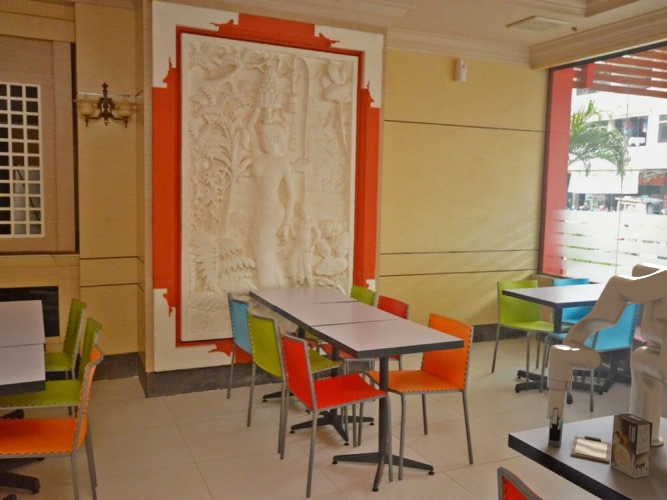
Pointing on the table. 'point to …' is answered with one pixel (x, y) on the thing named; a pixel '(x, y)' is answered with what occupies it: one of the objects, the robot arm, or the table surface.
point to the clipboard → (591, 449)
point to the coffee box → (631, 445)
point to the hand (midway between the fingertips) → (555, 437)
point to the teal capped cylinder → (556, 443)
